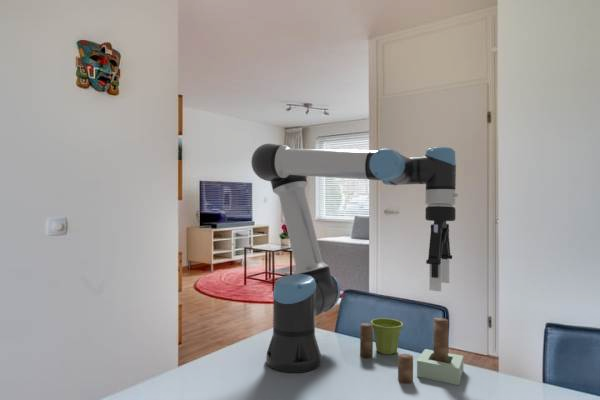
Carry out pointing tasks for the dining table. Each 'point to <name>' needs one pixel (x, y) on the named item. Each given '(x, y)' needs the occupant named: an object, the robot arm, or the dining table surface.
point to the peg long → (441, 340)
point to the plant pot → (386, 334)
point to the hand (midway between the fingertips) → (439, 286)
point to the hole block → (440, 367)
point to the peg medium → (366, 340)
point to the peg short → (405, 368)
